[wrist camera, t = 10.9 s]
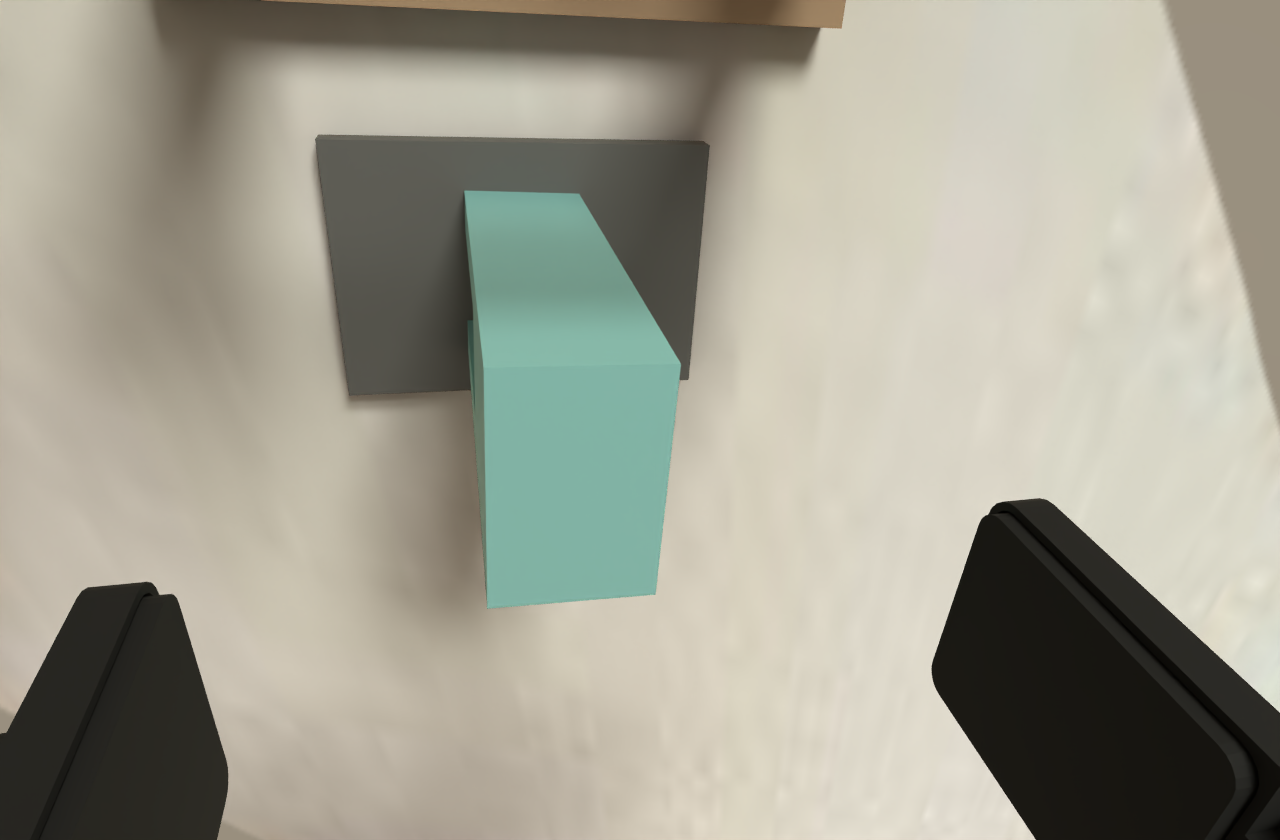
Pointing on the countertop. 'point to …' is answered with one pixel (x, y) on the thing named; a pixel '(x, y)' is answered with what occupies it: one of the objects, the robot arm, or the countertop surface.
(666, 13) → the stand
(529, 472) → the tall mint green block
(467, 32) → the countertop surface
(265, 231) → the countertop surface
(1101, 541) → the countertop surface
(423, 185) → the mat
